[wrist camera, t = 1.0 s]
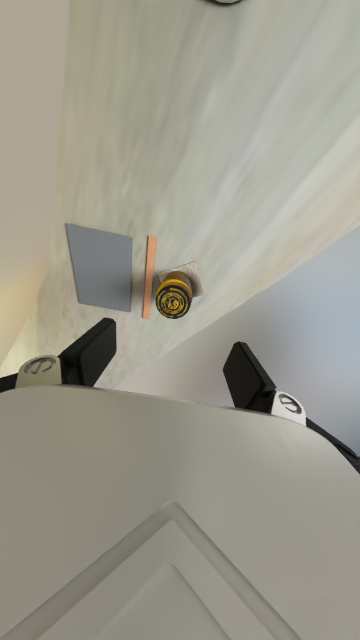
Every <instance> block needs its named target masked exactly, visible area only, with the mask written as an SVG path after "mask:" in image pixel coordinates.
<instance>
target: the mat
mask: <svg viewBox="0 0 360 640" xmlns="http://www.w3.org/2000/svg"><path fill="white" fill-rule="evenodd" d="M66 227H67V233H68V239H69V245H70V251H71V256H72V262H73V268H74V274H75V280H76V286H77V292H78V298H79V303H81V304H87V305H92V306H98V307H103V308H109V309H114V310H120V311H125V312H130V311H131V271H132V238H131V237H127V236H122V235H118V234H113V233H108V232H104V231H99V230H95V229H90V228H86V227H81V226H76V225H72V224H67V223H66Z"/></svg>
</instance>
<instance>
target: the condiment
mask: <svg viewBox="0 0 360 640" xmlns="http://www.w3.org/2000/svg"><path fill="white" fill-rule="evenodd" d="M157 275H158V278H159V280H160V283H161V285H160V286H159V288H158V290H157V295H156V306H157V309H158V311H159V312H160V313H161V314H162V315H163V316H165V317H167V318H172V319H177V318H180V317H182V316H184V315H185V314H186V313H187V312H188V311H189V308H190V305H191V302H192V298H193V297H196V296H200V295H203V292H202V288H201V283H200V279H199V275H198V271H197V267H196V262H192V263H189V264H186V265H183V266H180V267H177V268H174V269H171V270H168V271H165V272H162V273H159V274H157Z"/></svg>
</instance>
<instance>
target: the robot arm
mask: <svg viewBox="0 0 360 640" xmlns="http://www.w3.org/2000/svg"><path fill="white" fill-rule="evenodd" d="M216 1H218V2H223V3H232V2H236V1H239V0H216ZM115 353H116V322H115V321H114V320H113V319H111V318H103V319H102V320H101V321H100V322H98V323H97V324H96V325H95V326H93V327H92V328H91V329H90V330H88V331H87V332H86V333H85V334H84V335H82V336H81V337H80V338H79V339H77V340H76V341H75V342H74V343H72V344H71V345H70V346H69V347H68V348H66V349H65V350H64V351H63V352H61V354H60V355H59V356H54V355H45V356H40V357H36V358H34V359H31V360H29V361H28V362H26V363H24V364H23V365H22V366H21V367H20V369H19V372H18V373H16V374H12V375H9V376H6V377H2V378H0V640H360V459H359V458H358V457H357V455H356V454H355V453H354V452H353V451H352V450H351V449H350V448H349V447H347V446H346V445H345V444H343V443H342V442H341V441H339V440H338V439H336V438H335V437H333V436H332V435H331V434H329V433H328V432H326V431H325V430H324V429H322V428H321V427H319V426H318V425H316V424H315V423H314V422H312V421H311V420H309V419H308V418H307V417H306V415H305V410H304V408H303V406H302V405H301V404H300V403H299V402H298V401H297V400H296V399H295V398H294V397H292V396H291V395H289V394H287V393H284V392H276V391H275V388H276V386H275V384H274V383H273V381H272V380H271V379H270V377H269V376H268V374H267V373H266V371H265V370H264V368H263V367H262V366H261V364H260V363H259V361H258V360H257V358H256V357H255V355H254V354H253V353H252V351H251V350H250V348H249V347H248V345H247V344H246V343H244V342H237V343H235V344H234V345H233V348H232V350H231V352H230V354H229V356H228V358H227V361H226V363H225V365H224V368H223V373H224V375H225V378H226V382H227V384H228V388H229V391H230V393H231V396H232V399H233V402H234V405H235V408H234V407H227V406H221V405H215V404H208V403H201V402H194V401H188V400H181V399H174V398H167V397H161V396H153V395H146V394H140V393H133V392H126V391H119V390H112V389H104V388H96V387H93V386H94V384H95V383H96V381H97V380H98V378H99V377H100V375H101V374H102V372H103V371H104V370H105V368H106V367H107V365H108V364H109V362H110V361H111V359H112V358H113V356H114V355H115Z"/></svg>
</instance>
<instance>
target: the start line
mask: <svg viewBox="0 0 360 640" xmlns="http://www.w3.org/2000/svg"><path fill="white" fill-rule="evenodd" d="M156 243H157V237H154V236H150V235H149V240H148V254H147V268H146V282H145V296H144V310H143V318H146V319H149V316H150V305H151V295H152V285H153V274H154V264H155V253H156Z"/></svg>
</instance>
